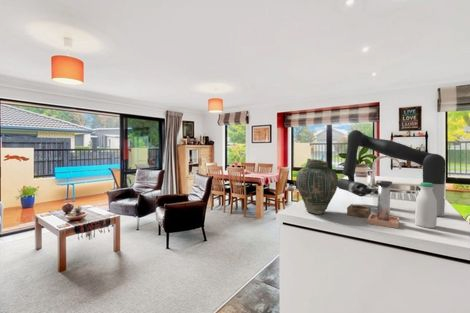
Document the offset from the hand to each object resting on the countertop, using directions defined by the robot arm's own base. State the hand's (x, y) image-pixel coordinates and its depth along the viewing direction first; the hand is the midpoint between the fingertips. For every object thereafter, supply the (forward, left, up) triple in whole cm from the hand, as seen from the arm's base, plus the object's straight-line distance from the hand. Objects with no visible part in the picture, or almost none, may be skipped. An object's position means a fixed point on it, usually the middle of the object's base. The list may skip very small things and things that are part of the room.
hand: (373, 193), depth 122 cm
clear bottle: (-5, +7, -11) cm, 15 cm away
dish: (-5, +7, -12) cm, 15 cm away
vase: (+27, +8, -12) cm, 31 cm away
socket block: (+7, -2, -12) cm, 14 cm away
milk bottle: (-21, 0, -12) cm, 25 cm away
